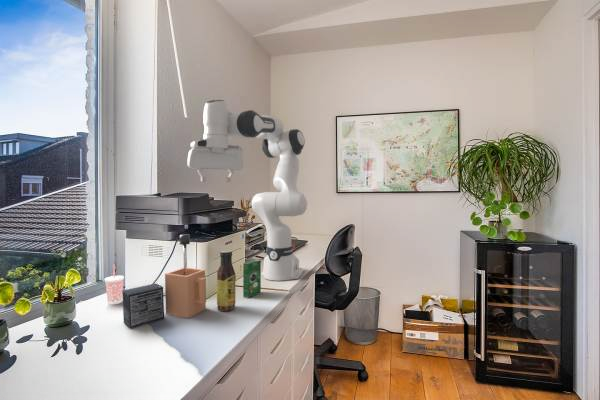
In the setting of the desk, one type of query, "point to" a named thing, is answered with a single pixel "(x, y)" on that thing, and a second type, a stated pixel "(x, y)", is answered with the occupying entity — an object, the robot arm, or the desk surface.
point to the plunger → (185, 249)
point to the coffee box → (251, 278)
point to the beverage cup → (114, 288)
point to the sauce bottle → (226, 283)
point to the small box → (143, 305)
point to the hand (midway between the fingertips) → (216, 181)
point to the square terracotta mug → (185, 292)
